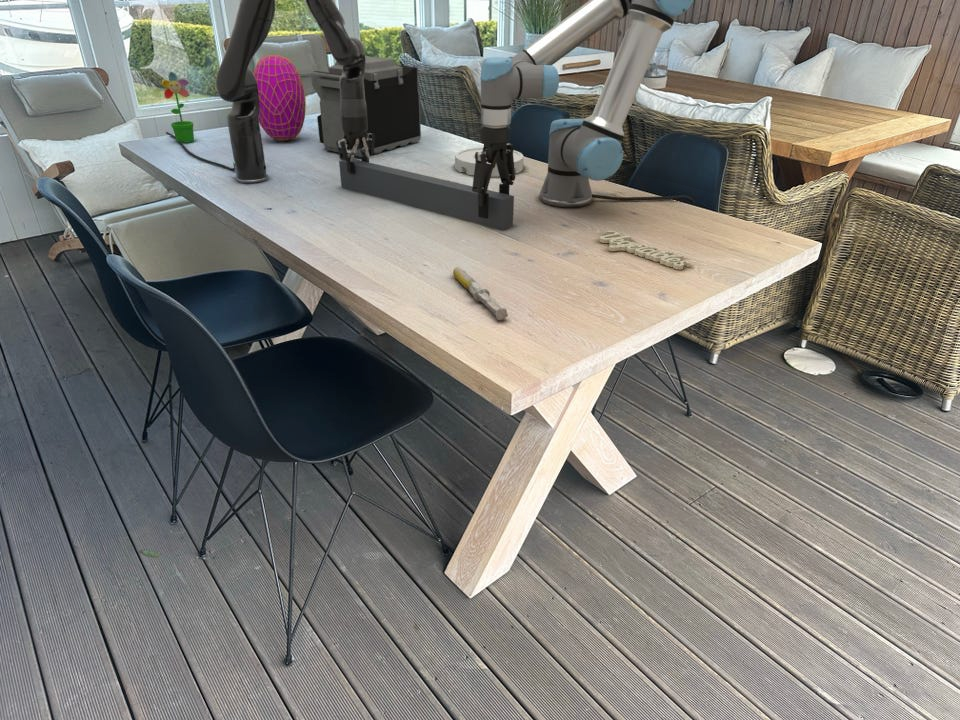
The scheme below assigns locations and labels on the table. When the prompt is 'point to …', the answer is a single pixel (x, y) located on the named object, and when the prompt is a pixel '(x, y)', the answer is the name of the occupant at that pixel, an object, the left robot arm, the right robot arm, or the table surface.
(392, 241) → the table surface
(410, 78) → the grey tool box
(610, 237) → the decorative sign
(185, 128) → the potted flower
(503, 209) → the bar
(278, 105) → the decorative egg
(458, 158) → the ashtray
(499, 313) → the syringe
